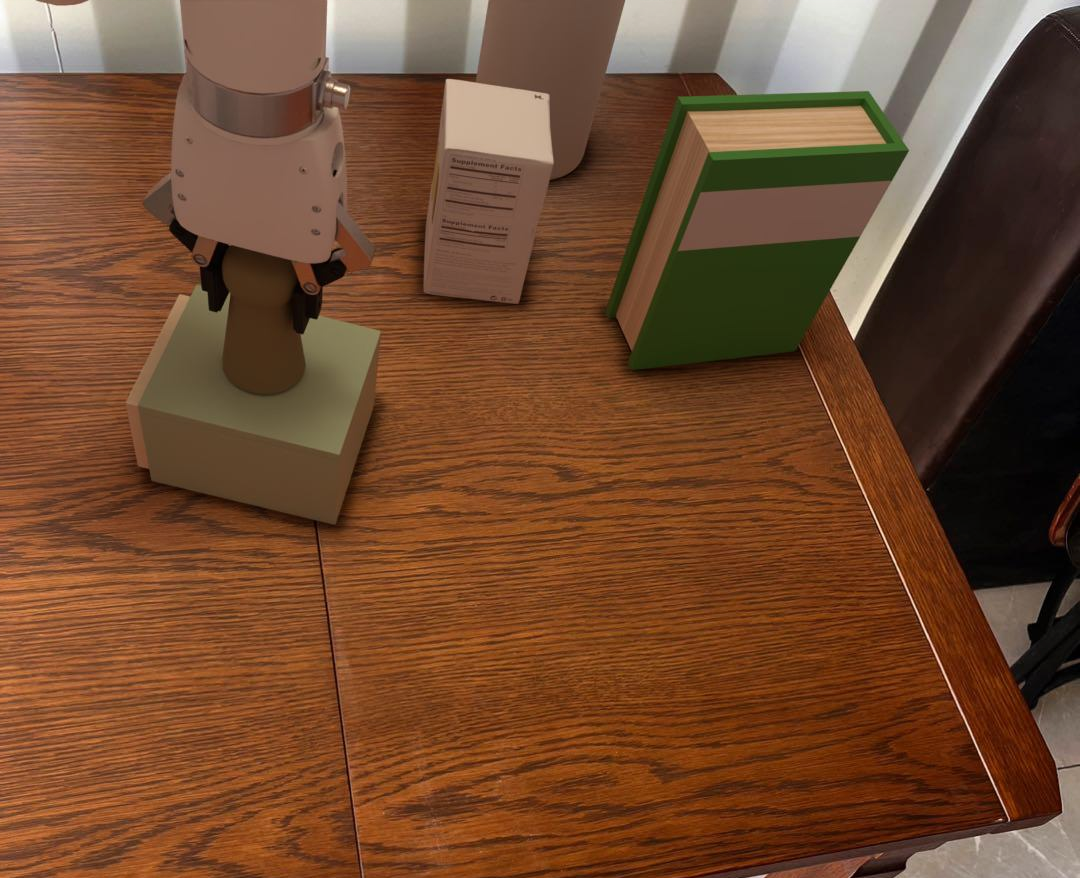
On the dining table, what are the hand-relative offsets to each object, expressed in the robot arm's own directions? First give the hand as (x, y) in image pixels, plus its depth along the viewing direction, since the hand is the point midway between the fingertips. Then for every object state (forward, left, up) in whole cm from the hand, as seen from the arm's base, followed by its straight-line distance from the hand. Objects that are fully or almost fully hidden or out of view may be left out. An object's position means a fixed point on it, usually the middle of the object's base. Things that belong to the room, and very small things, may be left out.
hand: (262, 307), depth 76 cm
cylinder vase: (+14, +46, -16) cm, 51 cm away
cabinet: (0, 0, -16) cm, 16 cm away
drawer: (-2, 0, -15) cm, 15 cm away
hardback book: (+35, +25, -16) cm, 46 cm away
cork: (0, 0, -6) cm, 6 cm away
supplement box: (+12, +26, -16) cm, 33 cm away
